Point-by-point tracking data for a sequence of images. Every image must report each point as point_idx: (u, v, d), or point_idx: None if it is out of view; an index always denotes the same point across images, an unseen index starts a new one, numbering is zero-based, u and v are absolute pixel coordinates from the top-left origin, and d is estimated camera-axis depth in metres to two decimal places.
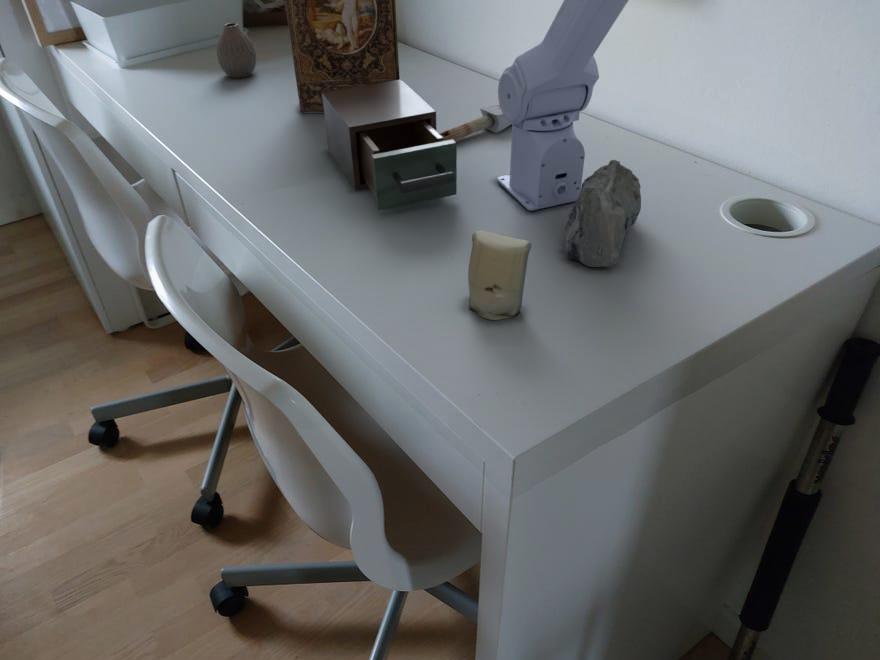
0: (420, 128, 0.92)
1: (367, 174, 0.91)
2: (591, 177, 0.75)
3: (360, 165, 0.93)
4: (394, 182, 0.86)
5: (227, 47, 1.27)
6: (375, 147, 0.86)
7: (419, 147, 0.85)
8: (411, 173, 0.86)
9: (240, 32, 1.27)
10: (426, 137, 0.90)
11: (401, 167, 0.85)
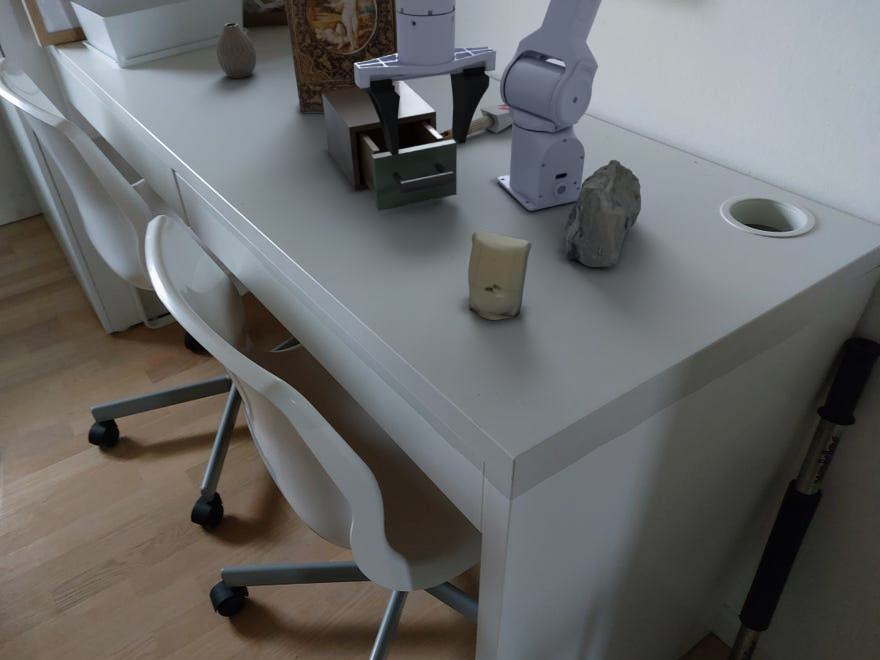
0: (420, 128, 0.92)
1: (367, 174, 0.91)
2: (591, 177, 0.75)
3: (360, 165, 0.93)
4: (394, 182, 0.86)
5: (227, 47, 1.27)
6: (375, 147, 0.86)
7: (419, 147, 0.85)
8: (411, 173, 0.86)
9: (240, 32, 1.27)
10: (426, 137, 0.90)
11: (401, 167, 0.85)
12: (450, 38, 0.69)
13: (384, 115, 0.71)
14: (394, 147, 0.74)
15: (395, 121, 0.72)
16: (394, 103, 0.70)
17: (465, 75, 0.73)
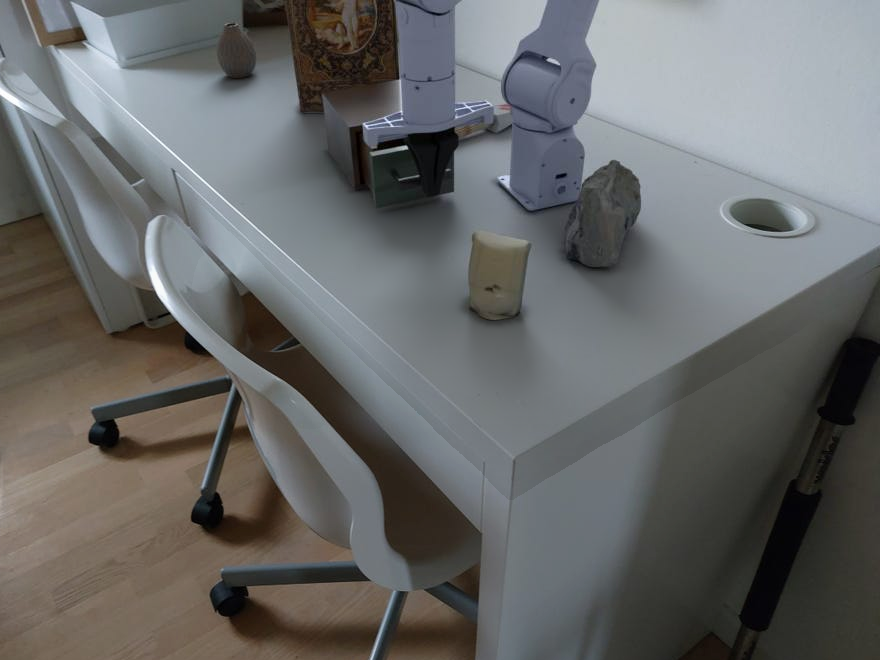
0: None
1: (365, 172, 0.91)
2: (591, 177, 0.75)
3: (358, 163, 0.93)
4: (392, 179, 0.86)
5: (227, 47, 1.27)
6: None
7: None
8: (409, 170, 0.86)
9: (240, 32, 1.27)
10: None
11: (399, 164, 0.85)
12: (451, 99, 0.74)
13: (422, 163, 0.78)
14: (430, 190, 0.81)
15: (431, 168, 0.79)
16: (431, 153, 0.77)
17: (436, 135, 0.78)
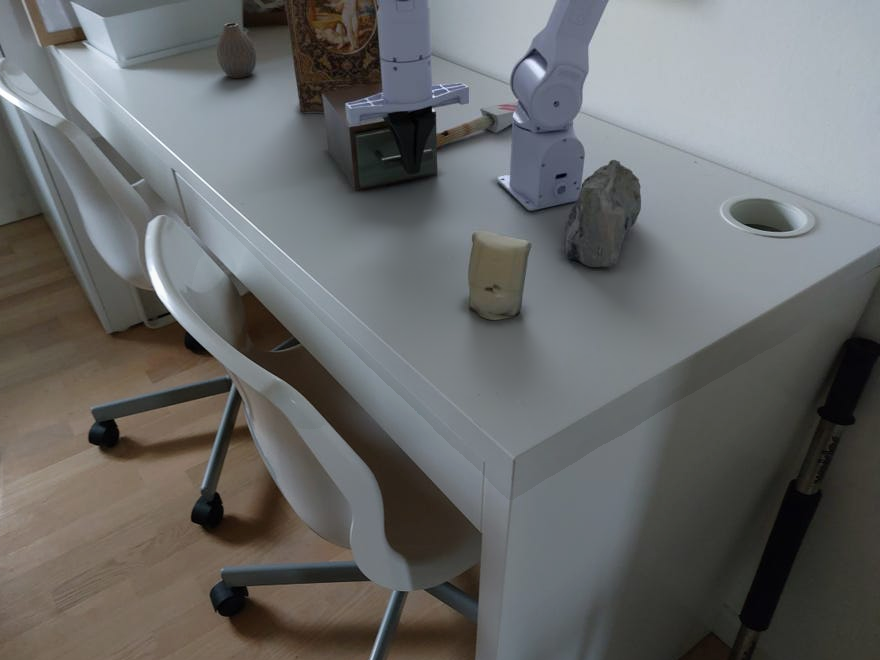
0: None
1: None
2: (591, 177, 0.75)
3: None
4: (376, 160, 0.91)
5: (227, 47, 1.27)
6: None
7: None
8: (392, 151, 0.91)
9: (240, 32, 1.27)
10: None
11: (383, 145, 0.90)
12: (427, 79, 0.79)
13: (401, 141, 0.83)
14: (410, 168, 0.86)
15: (411, 146, 0.84)
16: (410, 131, 0.82)
17: (414, 114, 0.83)
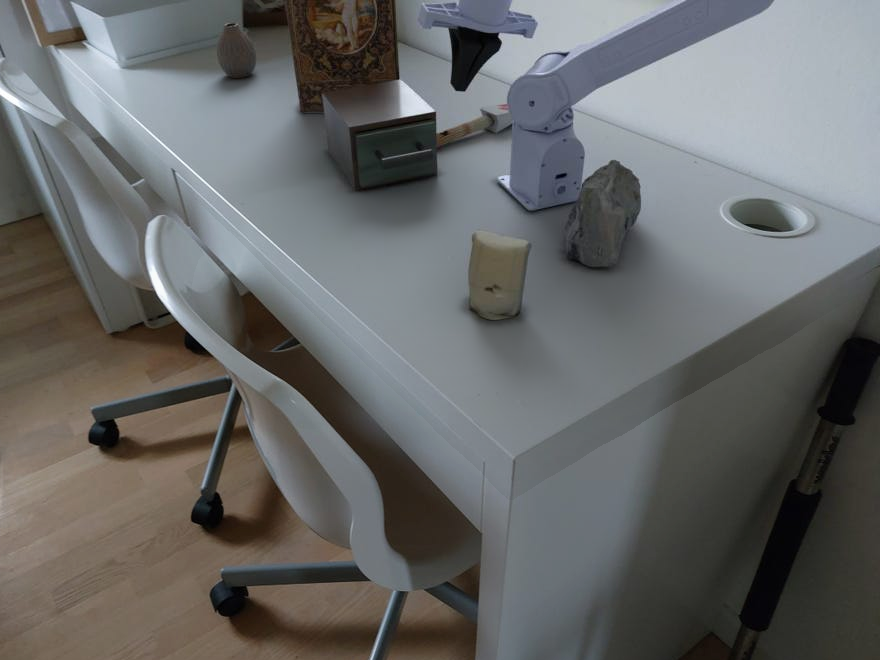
0: None
1: None
2: (591, 177, 0.75)
3: None
4: (376, 160, 0.91)
5: (227, 47, 1.27)
6: None
7: (400, 126, 0.90)
8: (392, 151, 0.91)
9: (240, 32, 1.27)
10: None
11: (383, 145, 0.90)
12: (508, 6, 0.80)
13: (463, 58, 0.83)
14: (460, 85, 0.87)
15: (469, 65, 0.85)
16: (474, 51, 0.83)
17: (482, 34, 0.83)
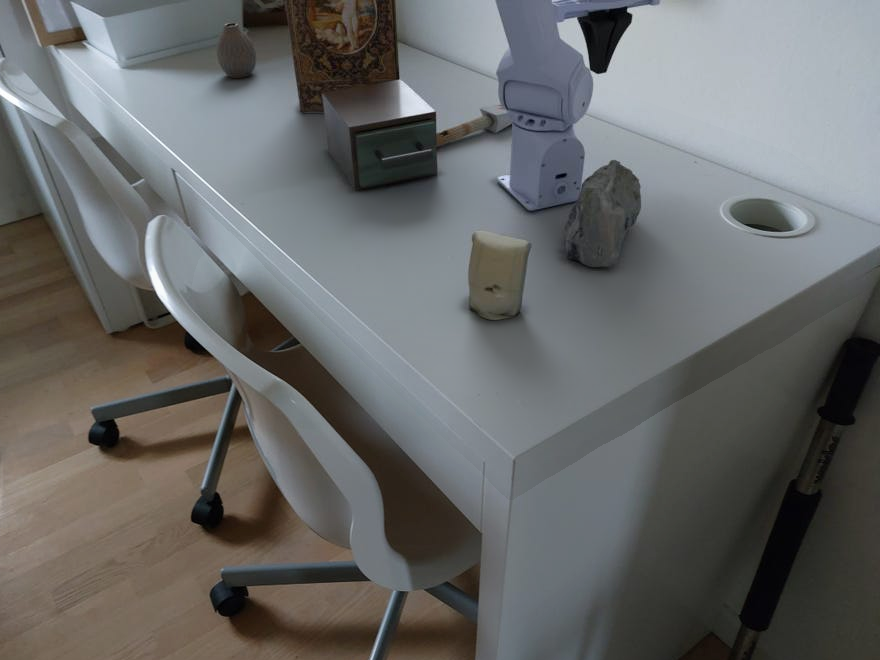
0: None
1: None
2: (591, 177, 0.75)
3: None
4: (376, 160, 0.91)
5: (227, 47, 1.27)
6: None
7: (400, 126, 0.90)
8: (392, 151, 0.91)
9: (240, 32, 1.27)
10: None
11: (383, 145, 0.90)
12: None
13: (598, 40, 0.89)
14: (600, 67, 0.92)
15: (605, 45, 0.90)
16: (608, 29, 0.88)
17: (611, 13, 0.89)
